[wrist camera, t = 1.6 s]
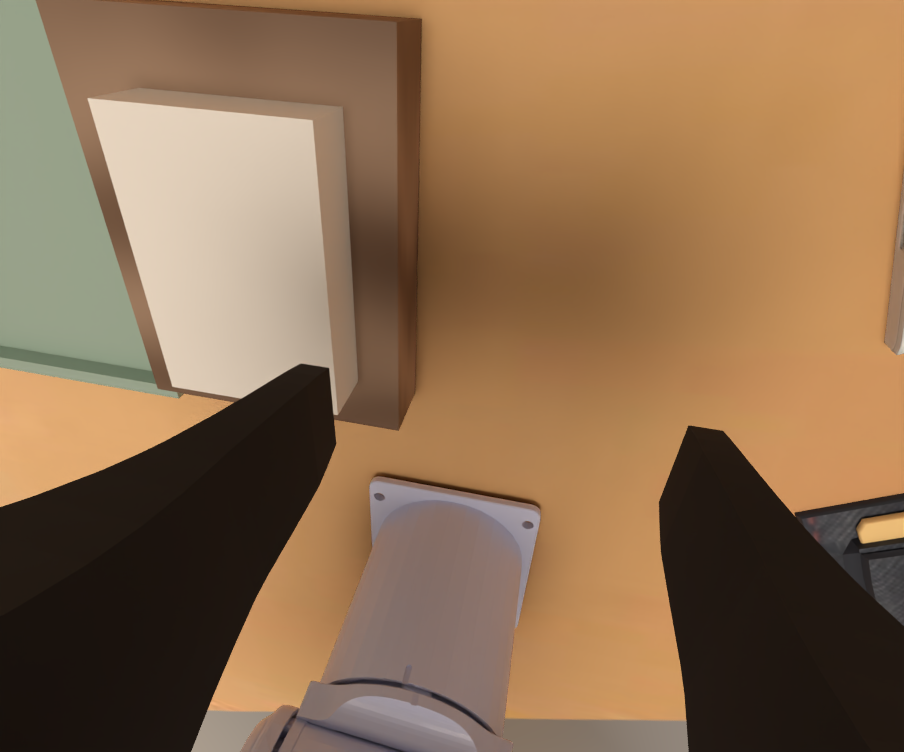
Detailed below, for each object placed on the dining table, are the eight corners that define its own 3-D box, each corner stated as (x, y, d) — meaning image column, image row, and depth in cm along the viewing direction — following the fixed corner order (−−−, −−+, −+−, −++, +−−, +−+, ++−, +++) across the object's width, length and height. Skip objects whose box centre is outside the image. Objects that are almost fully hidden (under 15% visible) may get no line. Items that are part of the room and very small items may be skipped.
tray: (194, 383, 25) (178, 398, 24) (-19, 346, 27) (-42, 360, 26) (75, -67, 16) (42, -73, 15) (-241, -85, 17) (-289, -90, 16)
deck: (415, 392, 23) (398, 430, 21) (193, 356, 24) (157, 388, 22) (421, 18, 15) (396, 21, 13) (101, -4, 17) (34, -5, 15)
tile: (358, 381, 20) (338, 415, 18) (204, 356, 21) (172, 386, 19) (342, 107, 15) (312, 119, 13) (139, 87, 16) (87, 98, 14)
